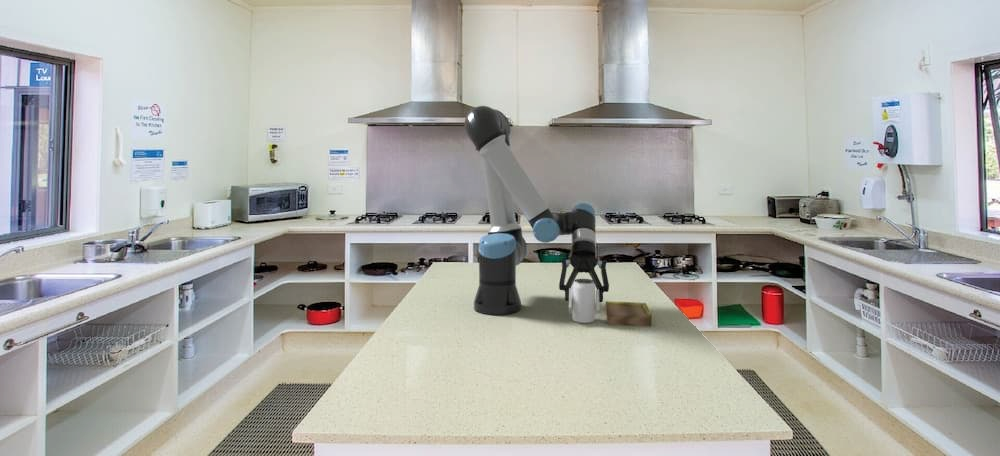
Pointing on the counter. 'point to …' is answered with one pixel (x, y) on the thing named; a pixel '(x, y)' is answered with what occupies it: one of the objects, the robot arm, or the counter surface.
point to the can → (583, 301)
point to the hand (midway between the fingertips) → (583, 310)
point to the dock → (628, 314)
